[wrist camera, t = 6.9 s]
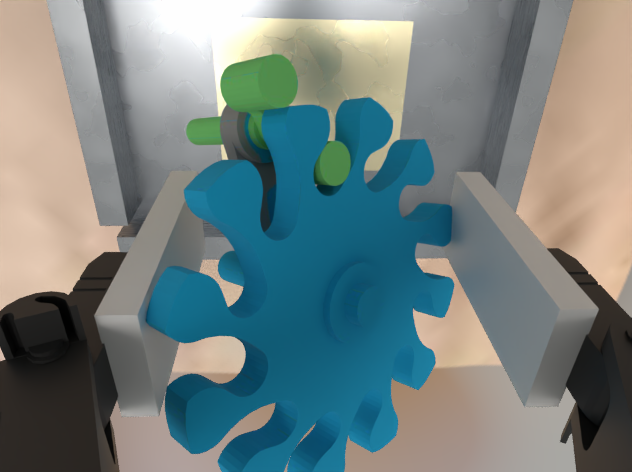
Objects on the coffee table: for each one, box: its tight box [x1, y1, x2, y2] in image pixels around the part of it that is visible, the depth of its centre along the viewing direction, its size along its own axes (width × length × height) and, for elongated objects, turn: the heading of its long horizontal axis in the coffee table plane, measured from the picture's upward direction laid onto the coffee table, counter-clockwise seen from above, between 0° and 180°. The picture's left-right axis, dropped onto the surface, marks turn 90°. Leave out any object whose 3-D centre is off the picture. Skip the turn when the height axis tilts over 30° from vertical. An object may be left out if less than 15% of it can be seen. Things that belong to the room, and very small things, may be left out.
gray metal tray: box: [47, 0, 573, 260], centre depth 25 cm, size 17×23×4 cm
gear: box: [146, 54, 454, 472], centre depth 13 cm, size 11×6×10 cm
